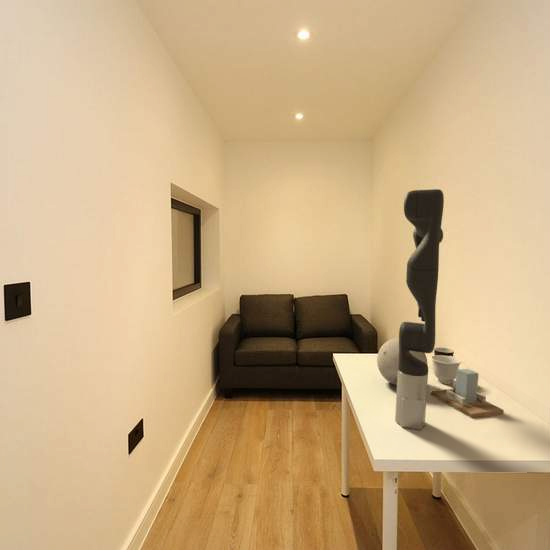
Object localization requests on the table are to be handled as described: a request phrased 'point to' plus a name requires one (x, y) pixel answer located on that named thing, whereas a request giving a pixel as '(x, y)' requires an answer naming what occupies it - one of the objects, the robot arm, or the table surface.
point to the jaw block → (467, 384)
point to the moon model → (393, 360)
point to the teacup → (445, 368)
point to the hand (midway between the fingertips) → (422, 319)
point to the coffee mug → (443, 351)
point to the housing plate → (469, 409)
